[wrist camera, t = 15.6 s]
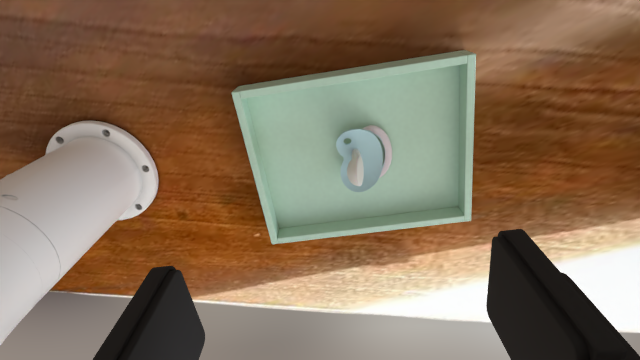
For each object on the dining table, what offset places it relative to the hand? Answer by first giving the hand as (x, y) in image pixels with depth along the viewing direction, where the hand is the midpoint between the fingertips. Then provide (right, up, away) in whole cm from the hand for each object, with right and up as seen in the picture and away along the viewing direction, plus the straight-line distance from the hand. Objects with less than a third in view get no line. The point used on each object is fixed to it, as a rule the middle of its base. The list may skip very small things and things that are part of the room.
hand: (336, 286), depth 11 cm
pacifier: (+4, +6, +30) cm, 31 cm away
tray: (+4, +7, +31) cm, 31 cm away
